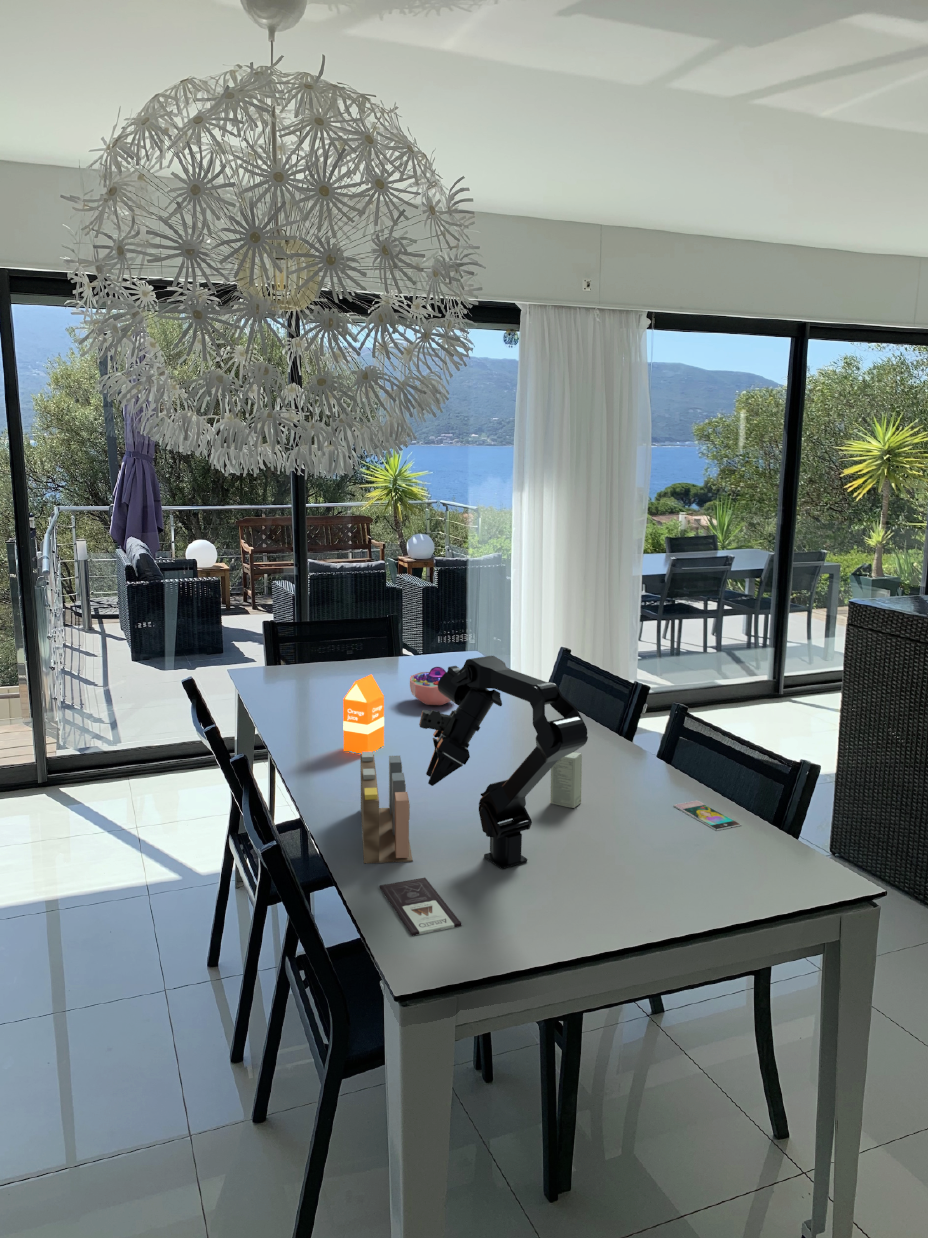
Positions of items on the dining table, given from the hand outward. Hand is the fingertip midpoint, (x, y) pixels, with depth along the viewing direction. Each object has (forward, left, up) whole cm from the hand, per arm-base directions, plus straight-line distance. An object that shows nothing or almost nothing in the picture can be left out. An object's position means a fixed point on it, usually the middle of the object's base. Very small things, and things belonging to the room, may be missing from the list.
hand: (429, 780), depth 182 cm
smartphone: (-17, -63, -15) cm, 67 cm away
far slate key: (+19, -3, -14) cm, 24 cm away
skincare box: (+5, -40, -15) cm, 43 cm away
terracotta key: (0, +6, -15) cm, 16 cm away
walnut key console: (+11, +4, -15) cm, 19 cm away
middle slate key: (+9, +2, -14) cm, 17 cm away
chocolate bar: (-20, +14, -15) cm, 28 cm away
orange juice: (+63, -17, -15) cm, 66 cm away
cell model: (+92, -57, -15) cm, 109 cm away
